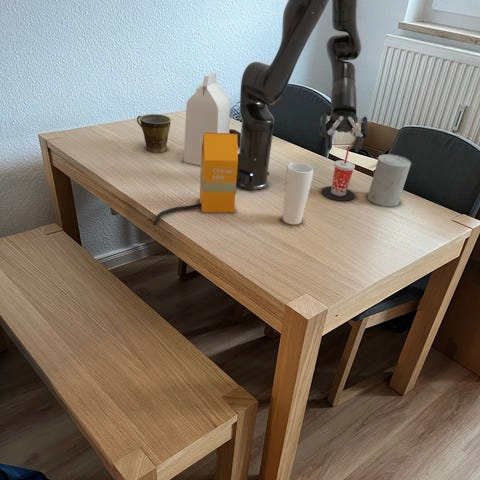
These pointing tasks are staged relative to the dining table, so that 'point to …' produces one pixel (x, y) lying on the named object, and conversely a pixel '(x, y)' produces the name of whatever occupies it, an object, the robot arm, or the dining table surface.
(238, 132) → the hairbrush
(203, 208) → the orange juice
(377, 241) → the dining table surface
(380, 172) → the grey wide plain cylinder
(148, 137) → the ceramic cup
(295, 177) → the drinking glass
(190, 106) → the milk
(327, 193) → the coaster
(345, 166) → the beverage cup
